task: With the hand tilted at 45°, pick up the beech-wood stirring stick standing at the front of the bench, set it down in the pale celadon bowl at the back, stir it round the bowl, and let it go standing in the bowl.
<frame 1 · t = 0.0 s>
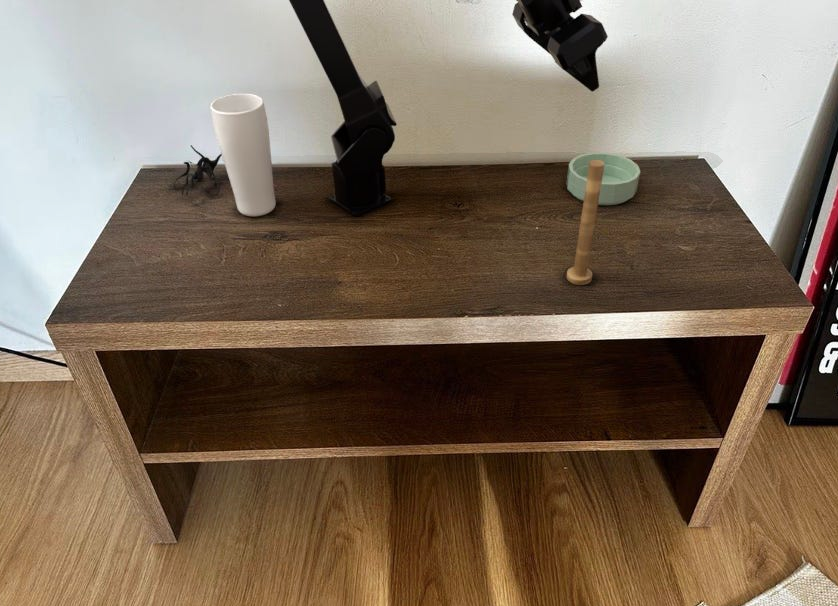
hand: (582, 76, 94), 15 cm above the table, tool tilted 35°, fingers open, 9 cm apart
creature: (201, 188, 103), on the table
bowl: (600, 190, 101), on the table
stick: (578, 278, 85), on the table
drinking glass: (257, 209, 98), on the table
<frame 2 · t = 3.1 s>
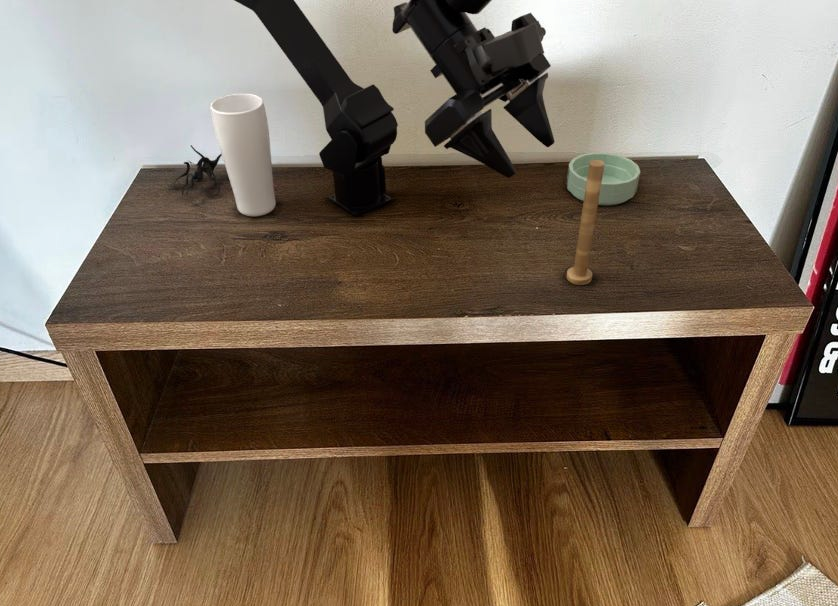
hand: (532, 159, 79), 13 cm above the table, tool tilted 45°, fingers open, 9 cm apart
nothing on the table moved.
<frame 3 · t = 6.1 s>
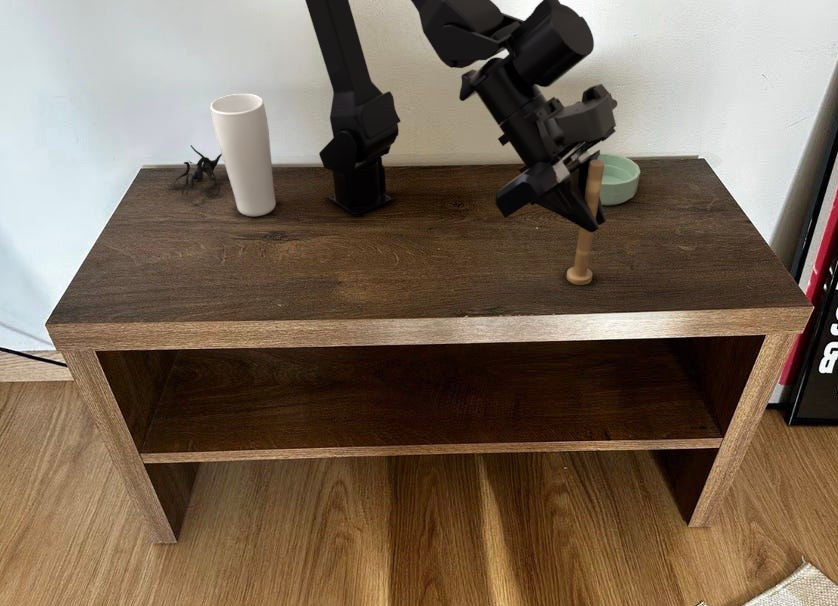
hand: (598, 227, 79), 8 cm above the table, tool tilted 45°, fingers closed on stick
stick: (579, 278, 85), on the table, touching gripper
everything else where it was.
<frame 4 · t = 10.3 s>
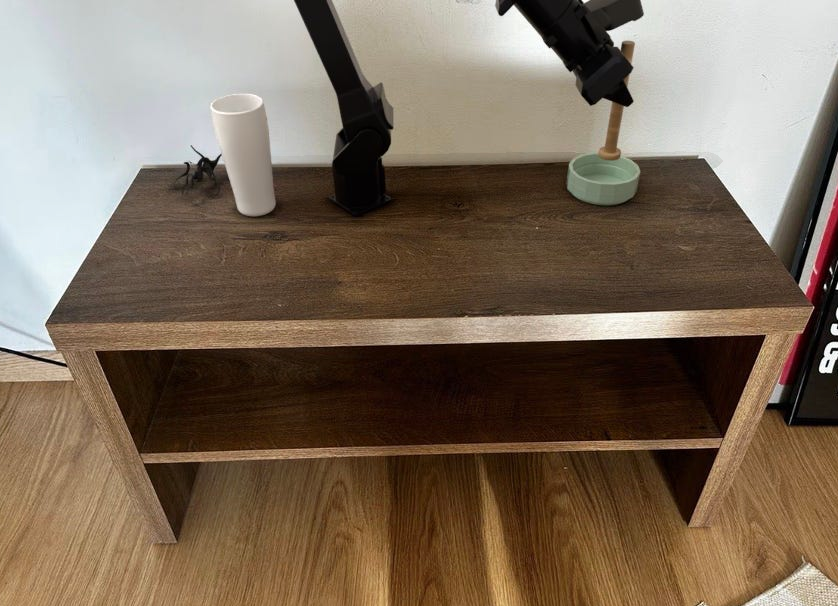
hand: (628, 101, 91), 14 cm above the table, tool tilted 45°, fingers closed on stick
stick: (609, 156, 96), point 6 cm above the table, touching gripper
everything else where it was.
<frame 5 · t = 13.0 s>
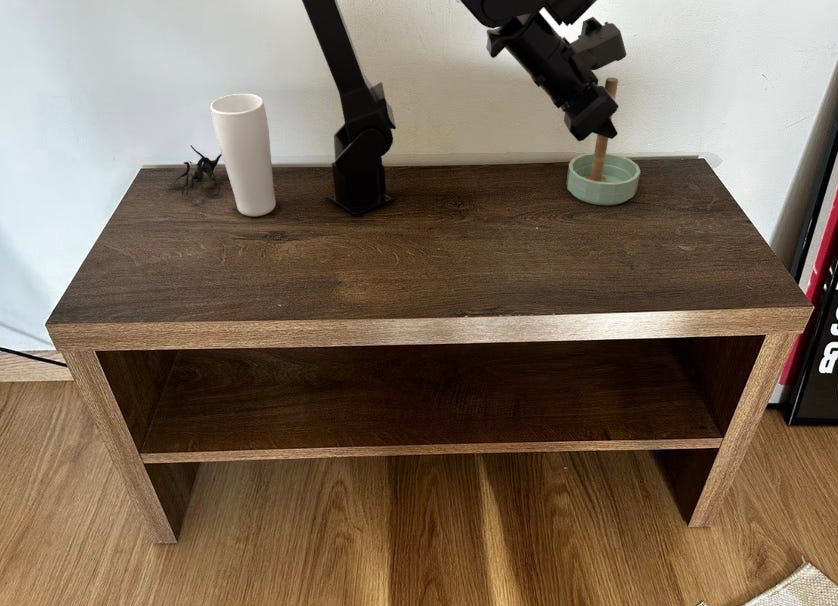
hand: (612, 133, 97), 8 cm above the table, tool tilted 45°, fingers closed on stick
stick: (595, 183, 102), point 1 cm above the table, touching gripper
everything else where it was.
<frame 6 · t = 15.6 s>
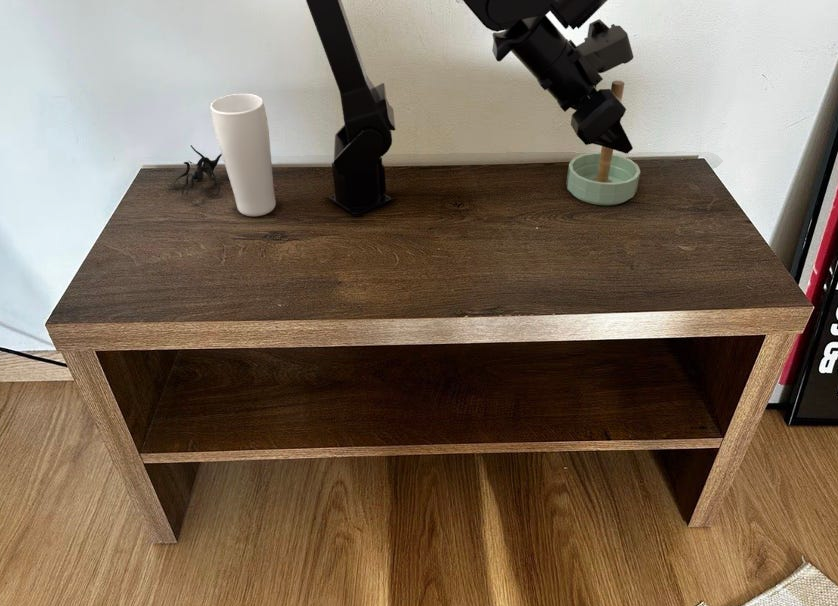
hand: (619, 136, 96), 8 cm above the table, tool tilted 45°, fingers open, 9 cm apart
stick: (601, 187, 101), resting on bowl
everything else where it was.
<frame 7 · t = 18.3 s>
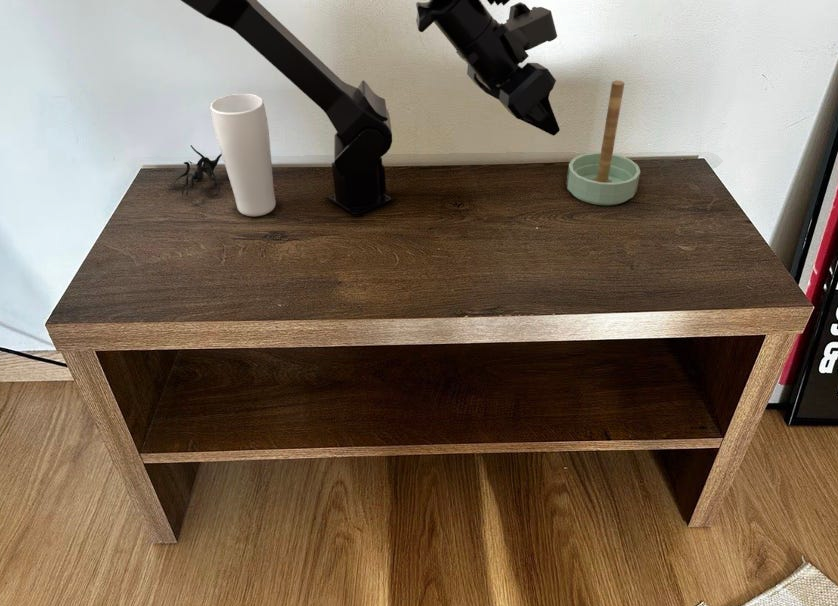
hand: (543, 122, 94), 10 cm above the table, tool tilted 40°, fingers open, 9 cm apart
nothing on the table moved.
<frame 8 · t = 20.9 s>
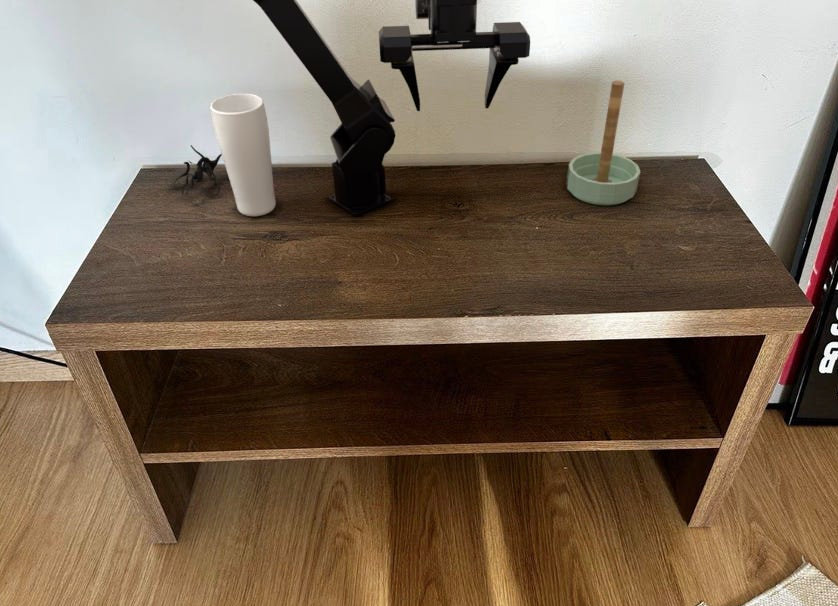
hand: (452, 108, 94), 12 cm above the table, tool pointing down, fingers open, 9 cm apart
nothing on the table moved.
at the end: stick 0.0 cm off-centre in the bowl, point 0.5 cm above the bowl's base; stick tilted 0°; stick moved 23.0 cm from its start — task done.
